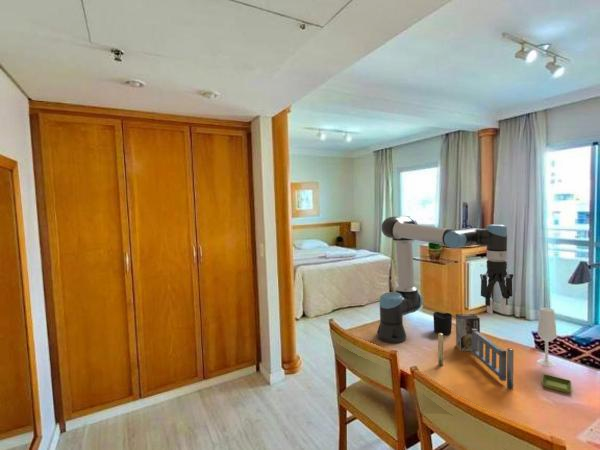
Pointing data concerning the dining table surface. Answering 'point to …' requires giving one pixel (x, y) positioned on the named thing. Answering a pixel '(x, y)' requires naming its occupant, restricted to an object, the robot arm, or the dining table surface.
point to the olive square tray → (556, 383)
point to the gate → (486, 360)
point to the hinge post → (510, 368)
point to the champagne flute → (547, 332)
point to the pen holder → (442, 323)
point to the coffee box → (466, 331)
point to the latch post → (440, 349)
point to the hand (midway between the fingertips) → (496, 312)
